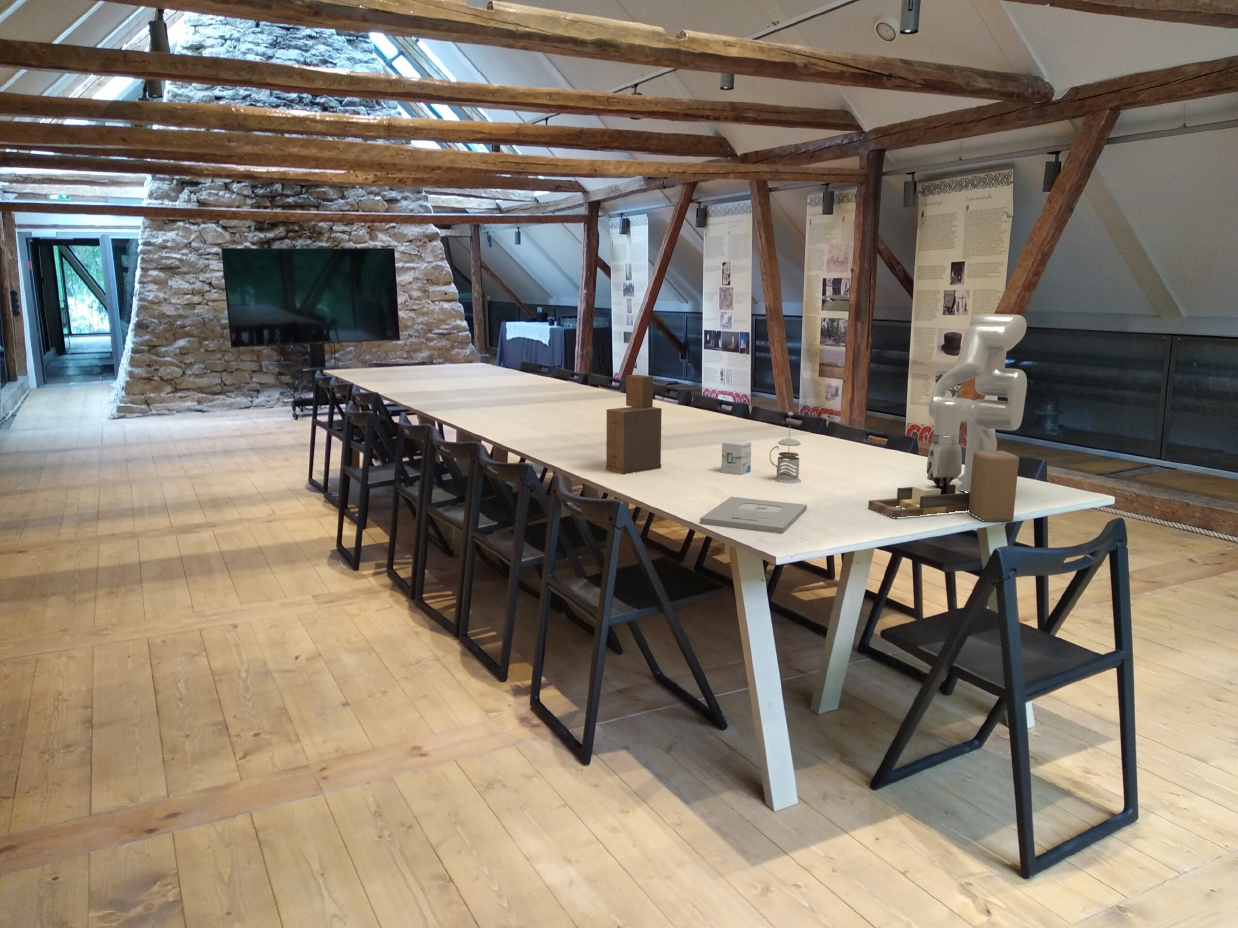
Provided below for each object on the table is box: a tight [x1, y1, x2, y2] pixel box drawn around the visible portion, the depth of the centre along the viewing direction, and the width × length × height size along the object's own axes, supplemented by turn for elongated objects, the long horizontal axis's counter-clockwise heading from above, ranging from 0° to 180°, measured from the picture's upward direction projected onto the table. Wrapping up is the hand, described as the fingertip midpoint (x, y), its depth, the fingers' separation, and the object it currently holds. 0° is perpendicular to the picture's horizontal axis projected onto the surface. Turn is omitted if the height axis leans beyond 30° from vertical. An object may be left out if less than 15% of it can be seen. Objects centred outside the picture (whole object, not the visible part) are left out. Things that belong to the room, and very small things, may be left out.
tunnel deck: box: [867, 483, 970, 518], centre depth 270 cm, size 14×35×6 cm, turn 108°
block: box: [969, 450, 1020, 522], centre depth 259 cm, size 10×10×20 cm
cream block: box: [912, 485, 941, 503], centre depth 269 cm, size 6×6×4 cm
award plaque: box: [699, 496, 808, 534], centre depth 261 cm, size 25×30×2 cm
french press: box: [769, 411, 802, 484], centre depth 310 cm, size 10×12×25 cm
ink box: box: [720, 439, 752, 476], centre depth 324 cm, size 9×8×12 cm
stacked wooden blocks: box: [605, 374, 662, 475], centre depth 328 cm, size 19×14×35 cm
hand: (941, 497), depth 271 cm, fingers closed
